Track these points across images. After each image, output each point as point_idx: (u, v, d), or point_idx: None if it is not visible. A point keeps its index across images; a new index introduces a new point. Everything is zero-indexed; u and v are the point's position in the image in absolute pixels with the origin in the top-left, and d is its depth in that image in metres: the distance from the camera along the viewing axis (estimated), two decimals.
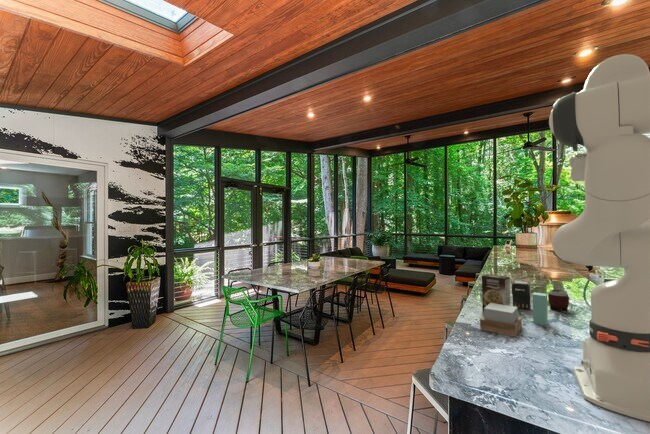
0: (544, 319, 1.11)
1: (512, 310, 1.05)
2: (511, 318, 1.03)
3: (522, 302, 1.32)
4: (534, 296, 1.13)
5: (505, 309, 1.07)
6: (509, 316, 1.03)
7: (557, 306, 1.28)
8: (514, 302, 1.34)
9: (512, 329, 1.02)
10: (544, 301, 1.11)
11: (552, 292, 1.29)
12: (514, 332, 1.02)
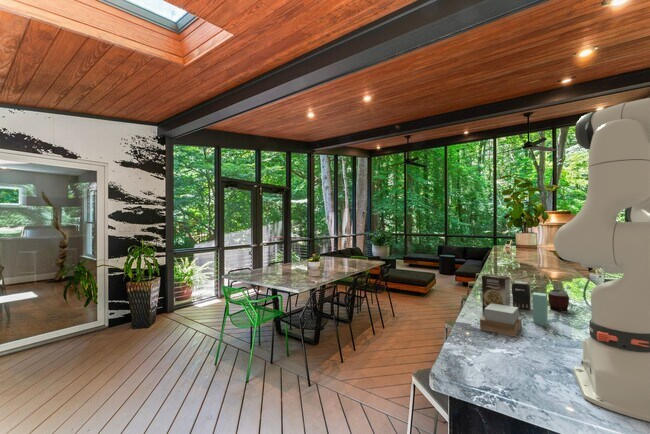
0: (544, 319, 1.11)
1: (512, 310, 1.05)
2: (511, 318, 1.03)
3: (522, 302, 1.32)
4: (534, 296, 1.13)
5: (505, 309, 1.06)
6: (510, 316, 1.03)
7: (557, 306, 1.28)
8: (514, 302, 1.34)
9: (512, 329, 1.02)
10: (544, 301, 1.11)
11: (552, 292, 1.29)
12: (514, 332, 1.02)
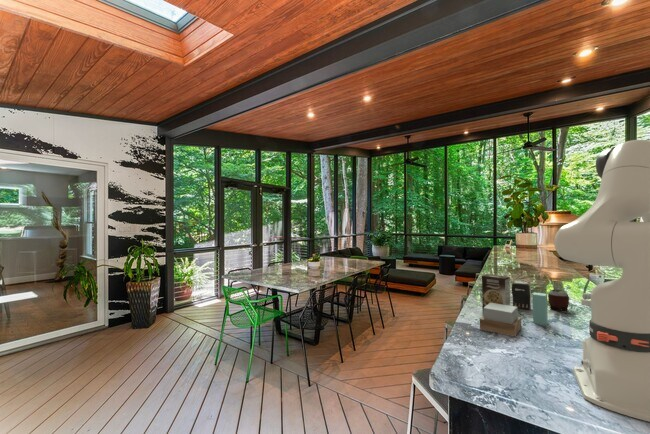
0: (544, 319, 1.11)
1: (511, 310, 1.06)
2: (510, 318, 1.03)
3: (522, 302, 1.32)
4: (534, 296, 1.13)
5: (504, 309, 1.07)
6: (508, 315, 1.04)
7: (557, 306, 1.28)
8: (514, 302, 1.34)
9: (512, 329, 1.02)
10: (544, 301, 1.11)
11: (552, 292, 1.29)
12: (513, 332, 1.02)
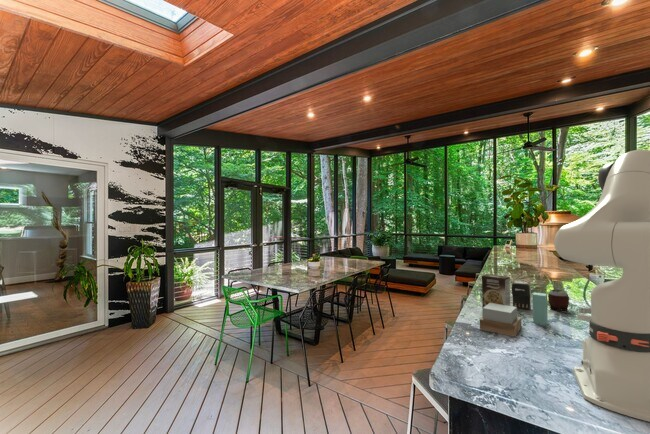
0: (544, 319, 1.11)
1: (511, 310, 1.06)
2: (509, 318, 1.03)
3: (522, 302, 1.32)
4: (534, 296, 1.13)
5: (504, 309, 1.07)
6: (507, 315, 1.04)
7: (557, 306, 1.28)
8: (514, 302, 1.34)
9: (511, 329, 1.02)
10: (544, 301, 1.11)
11: (552, 292, 1.29)
12: (513, 332, 1.02)
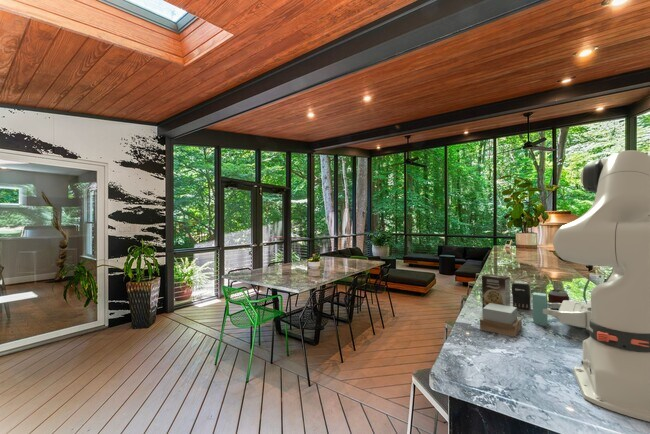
0: (544, 319, 1.11)
1: (511, 310, 1.05)
2: (509, 318, 1.03)
3: (522, 302, 1.32)
4: (534, 296, 1.13)
5: (504, 309, 1.07)
6: (508, 316, 1.03)
7: None
8: (514, 302, 1.34)
9: (512, 330, 1.02)
10: (544, 301, 1.11)
11: (552, 292, 1.29)
12: (514, 332, 1.01)
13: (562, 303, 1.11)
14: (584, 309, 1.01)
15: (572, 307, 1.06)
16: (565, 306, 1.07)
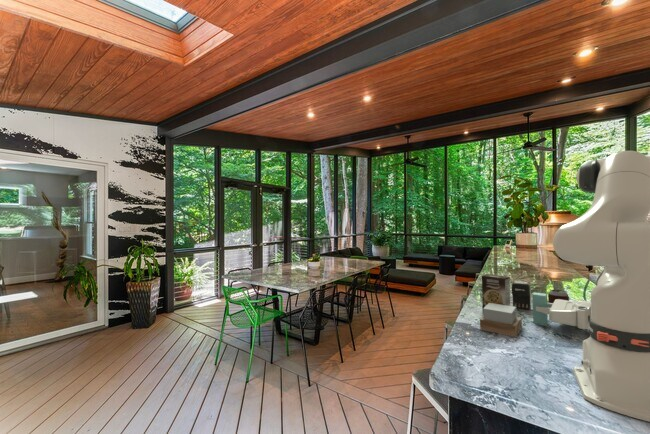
0: (544, 319, 1.11)
1: (511, 310, 1.05)
2: (510, 318, 1.03)
3: (522, 302, 1.32)
4: (534, 296, 1.13)
5: (504, 309, 1.07)
6: (508, 316, 1.03)
7: None
8: (514, 302, 1.34)
9: (512, 329, 1.02)
10: (544, 301, 1.11)
11: (552, 292, 1.29)
12: (514, 332, 1.01)
13: (554, 302, 1.13)
14: (575, 308, 1.02)
15: (564, 306, 1.08)
16: (557, 305, 1.09)
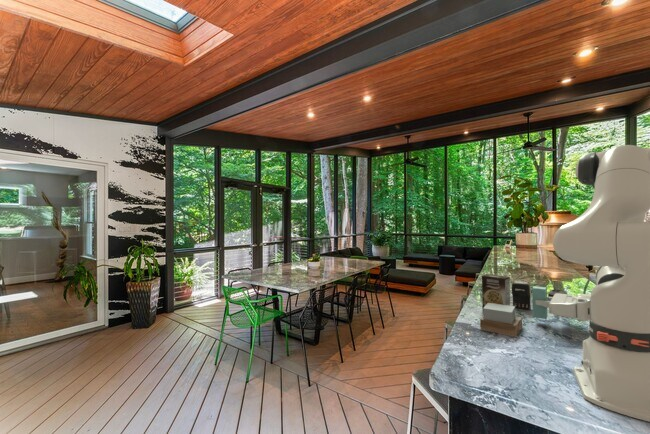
0: (544, 313, 1.11)
1: (511, 310, 1.06)
2: (510, 318, 1.03)
3: (522, 302, 1.32)
4: (534, 290, 1.13)
5: (504, 309, 1.07)
6: (509, 315, 1.04)
7: None
8: (514, 302, 1.34)
9: (512, 329, 1.02)
10: (544, 294, 1.11)
11: (552, 292, 1.29)
12: (514, 332, 1.01)
13: (554, 296, 1.13)
14: (575, 300, 1.02)
15: (563, 299, 1.08)
16: (556, 298, 1.09)
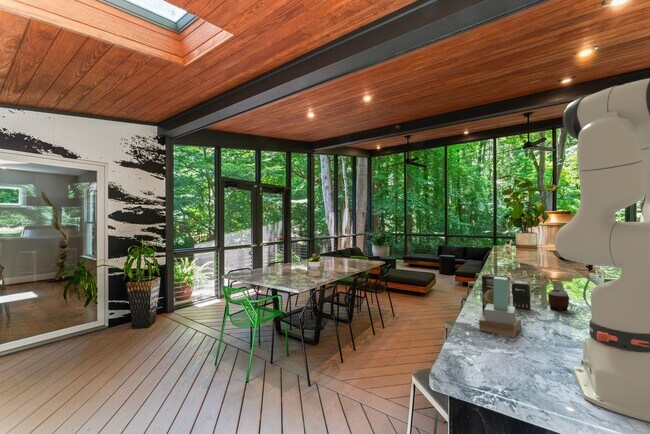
0: (504, 304, 1.06)
1: (512, 310, 1.05)
2: (512, 318, 1.03)
3: (522, 302, 1.32)
4: (495, 280, 1.08)
5: None
6: (510, 316, 1.03)
7: (557, 306, 1.28)
8: (514, 302, 1.34)
9: (511, 330, 1.01)
10: (505, 285, 1.06)
11: (552, 292, 1.29)
12: (513, 333, 1.01)
13: None
14: None
15: None
16: None
